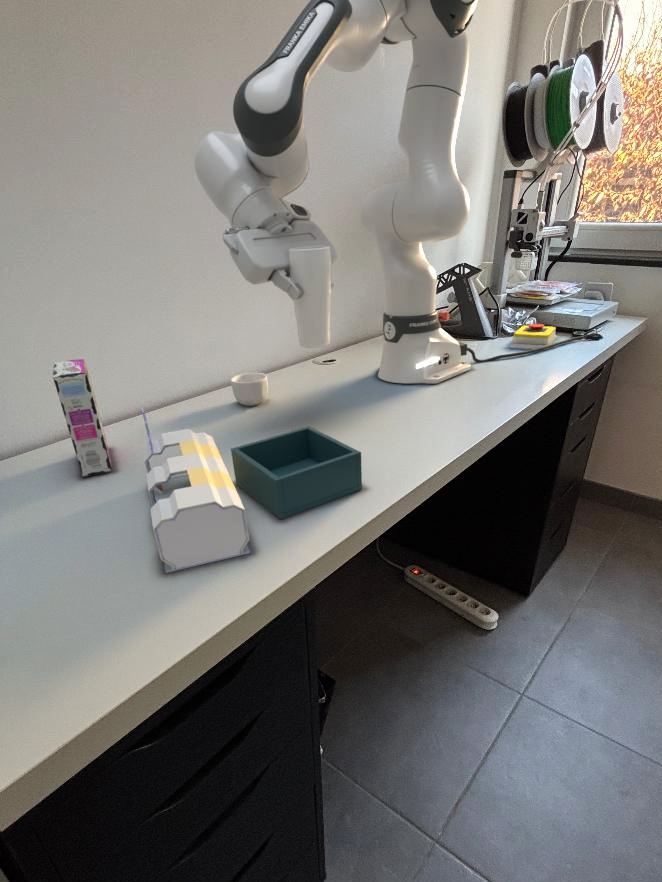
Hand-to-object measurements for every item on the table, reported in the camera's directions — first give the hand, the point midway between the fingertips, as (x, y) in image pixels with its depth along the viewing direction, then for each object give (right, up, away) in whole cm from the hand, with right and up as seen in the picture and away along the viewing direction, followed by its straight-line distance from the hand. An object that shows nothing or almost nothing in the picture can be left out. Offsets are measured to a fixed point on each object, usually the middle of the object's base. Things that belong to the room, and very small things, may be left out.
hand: (314, 292), depth 86 cm
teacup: (-13, -12, +29) cm, 34 cm away
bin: (-3, -32, -8) cm, 33 cm away
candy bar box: (-37, -27, +5) cm, 46 cm away
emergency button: (+59, +11, +59) cm, 84 cm away
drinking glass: (0, -7, +5) cm, 9 cm away
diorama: (-16, -36, -13) cm, 42 cm away
